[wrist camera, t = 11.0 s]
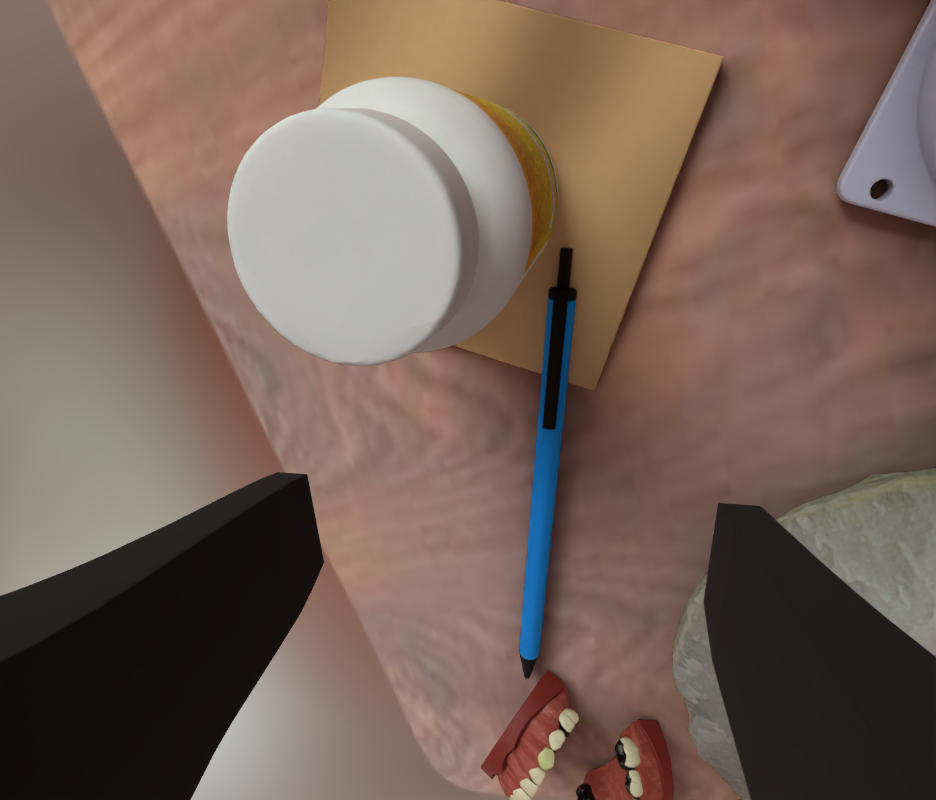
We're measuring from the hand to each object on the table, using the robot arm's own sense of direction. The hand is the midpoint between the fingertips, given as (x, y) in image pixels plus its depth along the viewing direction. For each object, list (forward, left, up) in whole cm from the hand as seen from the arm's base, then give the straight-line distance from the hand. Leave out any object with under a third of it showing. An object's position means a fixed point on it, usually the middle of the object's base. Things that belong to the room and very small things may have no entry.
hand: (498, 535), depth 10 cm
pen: (-1, +6, -10) cm, 12 cm away
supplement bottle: (+4, -4, -10) cm, 12 cm away
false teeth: (-11, +18, -8) cm, 23 cm away
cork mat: (+4, -4, -10) cm, 12 cm away
